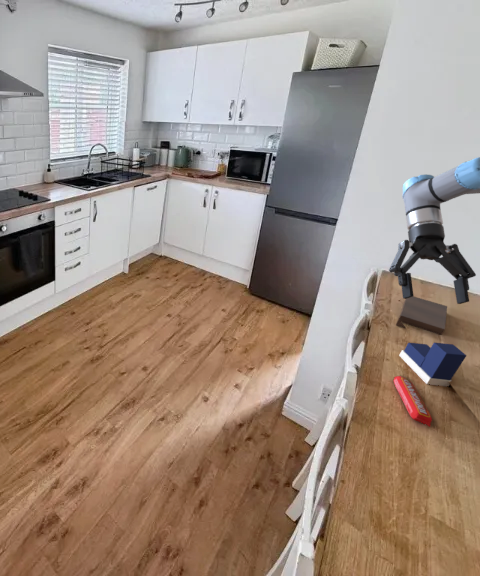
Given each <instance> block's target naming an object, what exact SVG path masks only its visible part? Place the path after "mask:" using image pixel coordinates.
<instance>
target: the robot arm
mask: <svg viewBox="0 0 480 576" xmlns="http://www.w3.org/2000/svg"><path fill="white" fill-rule="evenodd" d="M472 194H473V195H475V194H480V157H479V156H478V157H474V158H473V159H471V160H468V161H464V162H462V163H460V164H459V165H457V166H454V167H453V168H451V169H449V170H446V171H444V172H442V173H440V174H437V175H436V176H435V175H432V174H419V175H418V176H412V177H410V178H409V179H407V180H406V181H405V182H404V183H403V185H402V199H403V204H404V210H405V220H406V228H407V230H408V231H407V236H408V239H404V240H402V241H401V242H399V243H398V245H397V246H398V247H397V248H398V249H397V251H396V254H395V256H394V258H393V260H392V263H391V265H390V266H389V268H388V271H389V273H393V275H394V277H397V281H398V285H399V286H400V287H401V292H402V299H404V300H405V299H407V298H410V297H413V296H414V295H415V294H414V289H413V280H412V273H411V272H408V271H409V270H410V269H412V267H413V266H414V265H415V264H416V263H417V262H418V261H419V259H420V260H428V261H434V262H436V263H439V265H440V266H441V267H443V268H444V269H445V270H446V271H447V272H448V273H449V274H450V275H451V276H452V277H453V278H454V279H455V280H453V287H454V292H455V299H456V304H457V305H461V304H465V303H470V296H469V291H470V284H469V279H471V278H474V277H476V276H477V274H476V273H475V271H474V270H473V268H472V267H471V265H470V264H469V263H468V261H467V260H466V258H465V257H464V256H463V254H462V252H461V251H460V248H459V245H458V244H457V243H453V244H451V245H447V244H445V242H444V240H445V238H446V234H445V228H444V225H443V224H444V222H443V216H442V211H441V204H444V203H447V202H448V201H451V200H453V199H456V198H458V197H461V196H465V195H472ZM409 250H411V251H412V254H411V255H409V257H408V259H407V260H406V261H405V262H404V260H405V259H406V256H407V254H408V252H409ZM414 297H415V296H414Z"/></svg>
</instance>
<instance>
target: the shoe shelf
mask: <svg viewBox="0 0 480 576" xmlns="http://www.w3.org/2000/svg"><path fill="white" fill-rule="evenodd" d="M447 312H448V305H445V304H441V303H438V302H434V301H431V300H427V299H424V298H421V297H417V296H413V297H410V298H407V299H404V301H403V305H402V308H401V311H400V314H399V317H398V319H397V321H396V323H395V326H397V327H399V328H402V329H407V328H406V326H405V325H404V324H406V325H409V326H412V327H416V328H419V329H422V330H425V331H428V332H430V333H433V334H436V335H440V336H443V334H444V332H445V330H446V322H447V314H448V313H447Z"/></svg>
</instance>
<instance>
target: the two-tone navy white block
mask: <svg viewBox="0 0 480 576" xmlns="http://www.w3.org/2000/svg"><path fill="white" fill-rule="evenodd" d="M398 356H399V357H400V358H401V359H402V360H403V362H404V363H406V364H407V366H408V367H410V369H411V370H412V371H413V372H414V373H415V374H416V375H417V376H418V377H419V378H420V379H421V380H422V381H423V382H424V383H425V385H429V384H430V386H438V385H439V387H447V386H448V387H449V386H450V385H451V383H452V382H453V380H452V379H453V378H454V377H455V375H456V373H457V371H458V370H459V368H460V366H461V365H462V364H463V362H464V360H465V359H466V357H467V354H466V353H465V352H463V351H462V350H461V349H459V348H458V347H457V346H456V345H454V344H452V343H444V342H435V341H434V342H433V343H432V345H431V346H429V344H426V343H419V342H418V343H416V342H407V345H406V346H405V348H404V349H402V350H401V351H400V353H399V355H398ZM450 382H451V383H450Z"/></svg>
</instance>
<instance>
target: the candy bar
mask: <svg viewBox="0 0 480 576" xmlns="http://www.w3.org/2000/svg"><path fill="white" fill-rule="evenodd" d="M393 384H394V386H395V388H396V390H397V393H398V395H399V396H400V398H401V400H402V402H403V405H404V407H405V408H406V410H407V412H408V415H409V416H410V418H411V419H412V420H414V421H416V422H418V423H420V422H421V423H420V424H422V423H423V425H425V424H426V425H425V426H428V427H431V424H432V421H433V417H432V415H431V413H430V411H429V410H428V407H427V406H426V404H425V402H424V401H423V398H422V397H421V395H420V394H419V392H418V390H417V389H416V386H415V385H414V383H413V382H412V381H411V380H410V379H408V378H406V377H403V376H401V375H396V376H393Z"/></svg>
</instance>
